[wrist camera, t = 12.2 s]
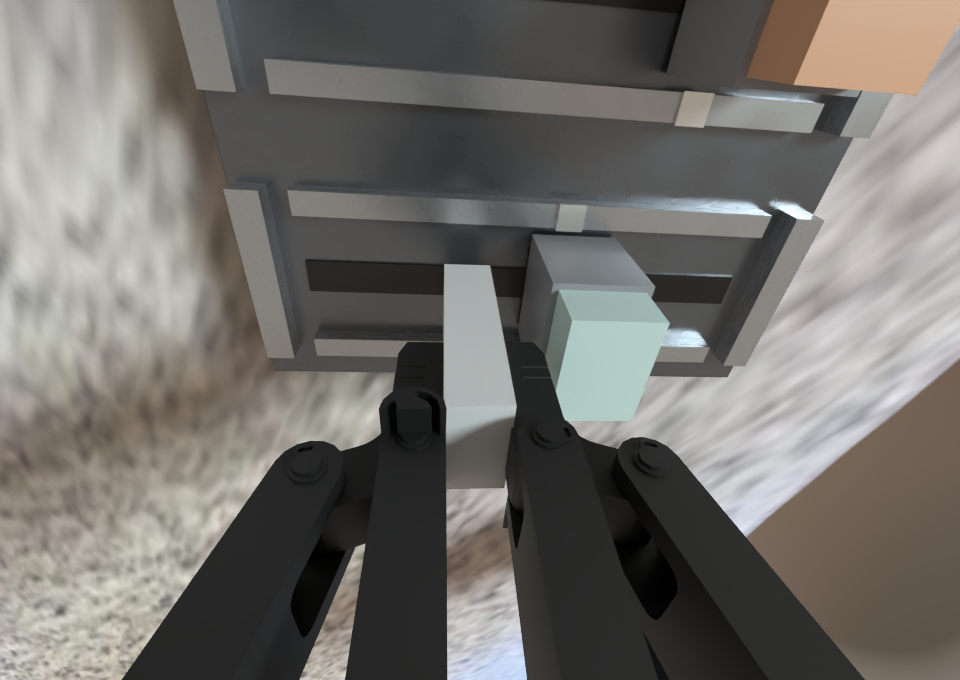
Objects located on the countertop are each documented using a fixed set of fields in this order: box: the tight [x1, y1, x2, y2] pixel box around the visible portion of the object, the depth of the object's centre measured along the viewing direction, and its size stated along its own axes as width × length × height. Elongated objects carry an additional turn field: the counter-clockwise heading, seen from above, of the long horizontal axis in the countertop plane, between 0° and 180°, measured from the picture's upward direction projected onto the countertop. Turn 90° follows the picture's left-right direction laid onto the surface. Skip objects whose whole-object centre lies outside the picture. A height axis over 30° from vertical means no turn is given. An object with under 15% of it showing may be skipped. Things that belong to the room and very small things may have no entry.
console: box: [173, 0, 894, 377], centre depth 14 cm, size 18×20×3 cm
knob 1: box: [518, 234, 670, 421], centre depth 14 cm, size 4×3×5 cm
